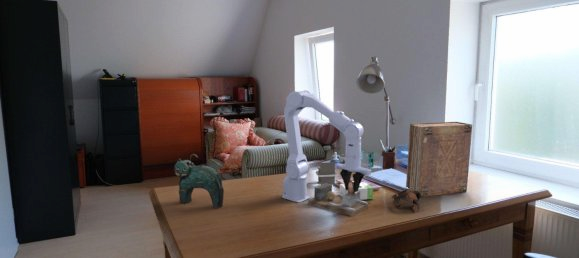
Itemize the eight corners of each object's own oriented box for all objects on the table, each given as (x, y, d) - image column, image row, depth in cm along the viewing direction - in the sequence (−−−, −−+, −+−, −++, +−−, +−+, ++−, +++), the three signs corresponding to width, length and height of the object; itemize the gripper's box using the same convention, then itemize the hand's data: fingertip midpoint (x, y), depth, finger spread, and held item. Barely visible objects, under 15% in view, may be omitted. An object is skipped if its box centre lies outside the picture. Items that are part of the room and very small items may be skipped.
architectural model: (310, 190, 169) (310, 166, 167) (302, 180, 185) (303, 157, 183) (350, 189, 172) (351, 165, 170) (339, 178, 188) (340, 156, 186)
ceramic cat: (174, 203, 150) (172, 153, 147) (184, 198, 156) (182, 150, 153) (218, 210, 143) (217, 158, 140) (226, 204, 149) (226, 154, 146)
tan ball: (324, 200, 151) (325, 191, 150) (329, 197, 153) (330, 189, 153) (332, 202, 149) (332, 193, 148) (337, 199, 151) (337, 191, 151)
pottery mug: (412, 216, 140) (401, 195, 141) (395, 219, 148) (385, 199, 149) (431, 202, 147) (421, 182, 148) (414, 205, 155) (404, 187, 156)
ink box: (373, 187, 156) (346, 189, 153) (373, 199, 156) (346, 201, 154) (365, 181, 164) (339, 183, 161) (364, 192, 165) (338, 194, 162)
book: (419, 197, 160) (423, 126, 155) (405, 190, 168) (409, 123, 164) (467, 191, 168) (472, 124, 163) (451, 185, 177) (456, 121, 172)
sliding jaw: (342, 206, 143) (343, 182, 142) (353, 201, 149) (354, 178, 148) (349, 208, 141) (350, 184, 140) (359, 203, 147) (360, 179, 146)
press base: (308, 203, 151) (308, 187, 150) (325, 196, 160) (325, 181, 159) (352, 216, 138) (352, 199, 137) (368, 207, 148) (368, 191, 146)
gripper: (375, 156, 141) (374, 191, 143) (342, 150, 150) (341, 184, 152) (366, 159, 135) (364, 196, 137) (332, 153, 145) (331, 188, 147)
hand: (351, 190), depth 144 cm, fingers closed on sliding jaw, 3 cm apart
